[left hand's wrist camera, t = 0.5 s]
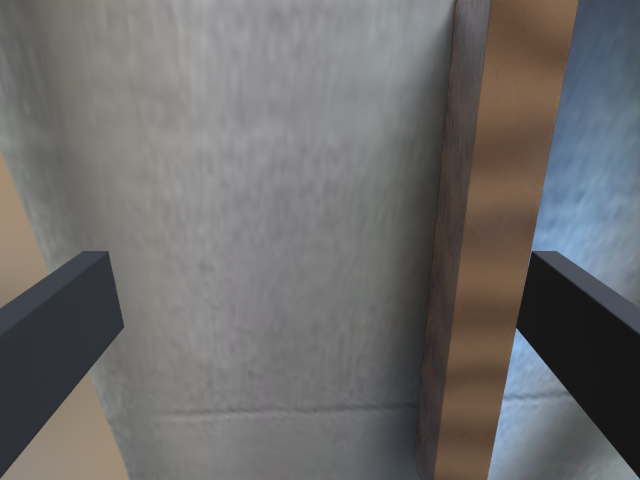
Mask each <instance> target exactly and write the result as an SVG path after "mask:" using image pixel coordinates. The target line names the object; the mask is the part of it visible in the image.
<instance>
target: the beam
mask: <svg viewBox="0 0 640 480" xmlns="http://www.w3.org/2000/svg"><path fill="white" fill-rule="evenodd" d="M578 2H579V0H456V11H455V22H454V33H453V43H452V54H451V65H450V76H449V87H448V98H447V108H446V119H445V130H444V141H443V152H442V162H441V173H440V184H439V195H438V206H437V216H436V227H435V238H434V249H433V260H432V270H431V281H430V292H429V303H428V314H427V324H426V335H425V346H424V357H423V368H422V378H421V389H420V400H419V411H418V422H417V433H416V443H415V454H414V459H415V463H416V467H417V471H418V474H419V478H420V480H487V477H488V472H489V467H490V462H491V456H492V451H493V446H494V441H495V436H496V430H497V425H498V420H499V415H500V409H501V404H502V399H503V394H504V388H505V383H506V378H507V373H508V368H509V362H510V357H511V352H512V347H513V341H514V336H515V331H516V323H517V319H518V314H519V309H520V305H521V300H522V294H523V289H524V284H525V279H526V274H527V268H528V263H529V258H530V253H531V247H532V242H533V237H534V232H535V227H536V221H537V216H538V211H539V206H540V200H541V195H542V190H543V185H544V180H545V174H546V169H547V164H548V159H549V153H550V148H551V143H552V138H553V133H554V127H555V122H556V117H557V112H558V106H559V101H560V96H561V91H562V86H563V80H564V75H565V70H566V65H567V59H568V54H569V49H570V44H571V39H572V33H573V28H574V23H575V18H576V12H577V7H578Z"/></svg>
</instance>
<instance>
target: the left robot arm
mask: <svg viewBox="0 0 640 480" xmlns="http://www.w3.org/2000/svg"><path fill="white" fill-rule="evenodd" d="M123 328H124V323H123V319H122V314H121V309H120V305H119V300H118V295H117V290H116V286H115V281H114V276H113V272H112V267H111V262H110V257H109V253H108V251H83V252H81V253H80V254H79V255H77V256H76V257H74V258H73V259H71V260H70V261H68V262H67V263H66V264H64V265H63V266H61V267H60V268H58V269H57V270H55V271H54V272H53V273H51V274H50V275H48V276H47V277H45V278H44V279H42V280H41V281H40V282H38V283H37V284H35V285H34V286H32V287H31V288H30V289H28V290H27V291H25V292H24V293H22V294H21V295H19V296H18V297H16V298H15V299H14V300H12V301H11V302H9V303H8V304H6V305H5V306H4V307H2V308H1V309H0V478H1V477H2V476H3V475H4V473H5V472H6V471H7V470H8V469H9V467H10V466H11V465H12V464H13V462H14V461H15V460H16V459H17V458H18V456H19V455H20V454H21V453H22V451H23V450H24V449H25V448H26V447H27V445H28V444H29V443H30V442H31V440H32V439H33V438H34V437H35V436H36V434H37V433H38V432H39V431H40V429H41V428H42V427H43V426H44V425H45V423H46V422H47V421H48V420H49V418H50V417H51V416H52V415H53V413H54V412H55V411H56V410H57V409H58V407H59V406H60V405H61V404H62V402H63V401H64V400H65V399H66V398H67V396H68V395H69V394H70V393H71V391H72V390H73V389H74V388H75V387H76V385H77V384H78V383H79V382H80V380H81V379H82V378H83V377H84V376H85V374H86V373H87V372H88V371H89V369H90V368H91V367H92V366H93V365H94V363H95V362H96V361H97V360H98V358H99V357H100V356H101V355H102V354H103V352H104V351H105V350H106V349H107V347H108V346H109V345H110V344H111V343H112V341H113V340H114V339H115V338H116V336H117V335H118V334H119V333H120V332H121V330H122V329H123ZM516 328H517V329H518V330H519V332H520V333H521V334H522V335H523V336H524V338H525V339H526V340H527V341H528V343H529V344H530V345H531V346H532V347H533V349H534V350H535V351H536V352H537V354H538V355H539V356H540V357H541V358H542V360H543V361H544V362H545V363H546V365H547V366H548V367H549V368H550V369H551V371H552V372H553V373H554V374H555V376H556V377H557V378H558V379H559V380H560V382H561V383H562V384H563V385H564V387H565V388H566V389H567V390H568V391H569V393H570V394H571V395H572V396H573V398H574V399H575V400H576V401H577V403H578V404H579V405H580V406H581V407H582V409H583V410H584V411H585V412H586V414H587V415H588V416H589V417H590V418H591V420H592V421H593V422H594V423H595V425H596V426H597V427H598V428H599V429H600V431H601V432H602V433H603V434H604V436H605V437H606V438H607V439H608V440H609V442H610V443H611V444H612V445H613V447H614V448H615V449H616V450H617V451H618V453H619V454H620V455H621V456H622V458H623V459H624V460H625V461H626V462H627V464H628V465H629V466H630V467H631V469H632V470H633V471H634V472H635V473H636V475H637V476H638V477H639V478H640V309H639V308H638V307H637V306H635V305H634V304H632V303H631V302H629V301H628V300H626V299H625V298H624V297H622V296H621V295H619V294H618V293H616V292H615V291H613V290H612V289H611V288H609V287H608V286H606V285H605V284H603V283H602V282H600V281H599V280H598V279H596V278H595V277H593V276H592V275H590V274H589V273H587V272H586V271H585V270H583V269H582V268H580V267H579V266H577V265H576V264H574V263H573V262H572V261H570V260H569V259H567V258H566V257H564V256H563V255H561V254H560V253H559V252H557V251H532V253H531V257H530V262H529V267H528V272H527V276H526V281H525V286H524V290H523V295H522V300H521V305H520V309H519V314H518V319H517V323H516Z"/></svg>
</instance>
